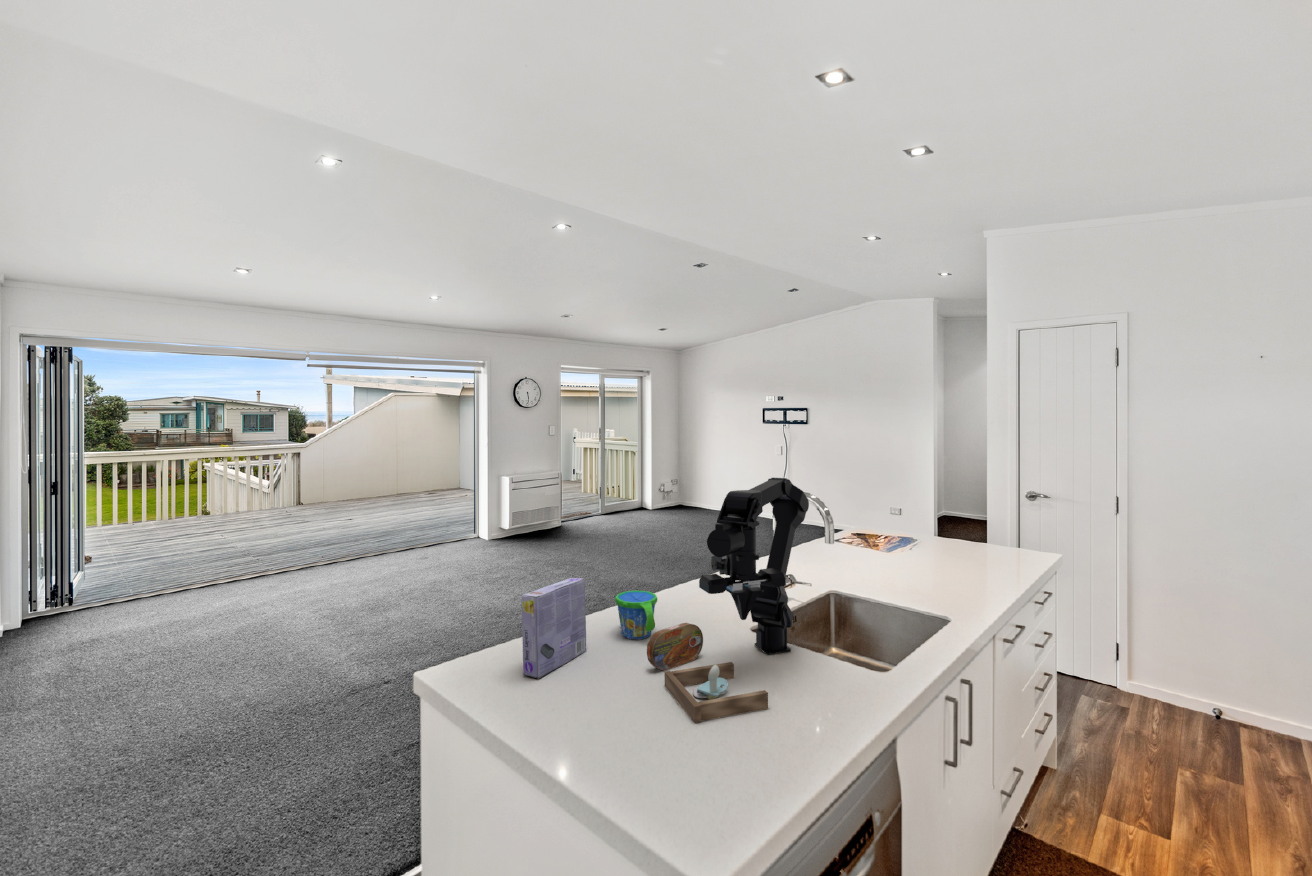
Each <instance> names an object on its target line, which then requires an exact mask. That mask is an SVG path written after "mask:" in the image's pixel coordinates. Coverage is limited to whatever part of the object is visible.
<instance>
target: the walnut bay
mask: <svg viewBox="0 0 1312 876" xmlns="http://www.w3.org/2000/svg"><path fill="white" fill-rule="evenodd" d="M714 665H717V666H718V667H719V676H718V678H724V679H725V680H726V681H727V680H730V679H735V663H733V662H732V661H729V662H724V663H723V662H722V663H715V664H711V665H701V666H696V667H691V668H684V669H677V670H672V671H671V670H665V671H664V673H663V674H664V688H666V690H667V691H668V692H669V693H670V695H671V696H672V697H673V699H675V701H676V702H677V703H678V705H679V706H680V707H681V708H682V710H684V712H685V713H686V714H687V716H689V718H690V719H691V720H692V722H693V723H694V724H698V723H701V722H703V721H709V720H715V719H719V718H726V717H732V716H737V715H740V714H741V715H743V714H745V713H746V714H747V713H751V712H757V711H763V710H767V709H769V692H768V691H767V690H766V689H764V690H759V691H753V692H747V693H742V694H735V695H729V696H724V697H720V698H719V697H718V698H713V699H708V700H703V701H697V699H695V697H694V695H693V694H691V693H690V692H689V691H688V690H687V688H686V687H687V686H693V685H694V686H695V685H702V684H704V683H706V682H707V681H709V680H708V675H709V672H710V670H711V668H712V667H713V666H714Z"/></svg>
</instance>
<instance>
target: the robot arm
mask: <svg viewBox="0 0 1312 876" xmlns="http://www.w3.org/2000/svg"><path fill="white" fill-rule="evenodd" d="M767 504H768V505H769V504H770V505H771V507H772V514H773V518H774V521H775V527H774V532H773V537H772V542H771V546H770V551H769V555H768V559H767V564H766V568H761V569H759V570H758V571H757V561H759V559H760V555H759V554H757V544H756V543H757V542H756V541H757V536H756V534H757V532H756V531H757V527H759V526H760V522H759V521H758V520H757V519H758V517H759V516H760V515H761V514H762V513H763V511H764V510H763V507H765V506H766V505H767ZM809 507H810V501H809V498H808V497H807V495H806V493H805V492H804V490H802V489H801V488H799V487H798V486H796V485H795V484H793V483H792V481H791V480H790V479H789V478H786V477H771V478H768V479H767V481H763V483H760V484H758V485H756V486H754V487H752V488H750V489H742V490H741V489H740V490H737V489H736V490H731V491H729V492H728V493H727V494H726V496H725V497H724V499H723V502H722V505H721V508H720V510H719V513H718V517H717V519H716V523H715V525H714V527H715V528H714V529H713V530H712V531H711V532H710V533H709V534H708V537H707V539H706V545H707V549H708V550H709V552H710V553H711V555H713V556H711V562H710V565H711V569H712V571H714V572H715V571H718V572H719V574H717V573H711V574H709V573H708V574H702V575H701V576H700V578H699V580H698V587H699V588H700V589H701V590H703V591H704V592H705V593H707V594H709V595H715V594H716V595H717V594H723V593H725V592H728V593H729V594H730V595H731V598H732V599H733V601H734V604H735V607H736V610H737V613H738V616H739V618H740V620H741V621H745V620H747V618H748V616H749V614H750V616H751V621H752V623H757V628H756V629H755V634H756V635H755V637H756V639H755V641H756V642H754V646H755V647H756V648H757V649H759V650H760V651H762V652H763V653H764V654H766V655H773V654H781V653H785V652H791V651H792V648H790V647H789V646H788V628H792V626H793V623H794V613H793V612H792V610H791V608H790V606H789V605H788V602H789V597H788V593H787V592H786V588H785V587H786V586H787V577H786V576H787V572H788V566H789V563H790V557H791V552H792V546H793V542H794V538H795V533H796V530H797V528H799V526H800V525H801V524H802V523H803V522H804V521H805V518H806V514H807V512H808V510H809ZM723 557H726V558H723ZM721 575H722V576H723V575H726V576H728V577H722V576H721Z"/></svg>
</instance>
